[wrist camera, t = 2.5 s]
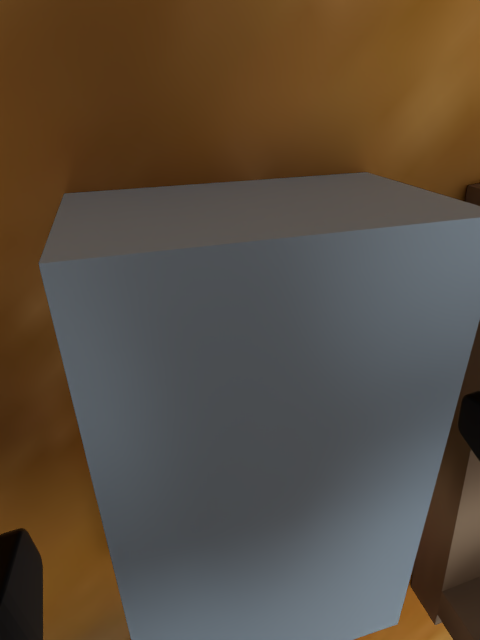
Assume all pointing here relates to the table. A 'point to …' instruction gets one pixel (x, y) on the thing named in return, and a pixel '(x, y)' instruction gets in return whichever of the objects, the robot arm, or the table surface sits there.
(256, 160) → the table surface
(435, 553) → the walnut shelf
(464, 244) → the grey rectangular block
